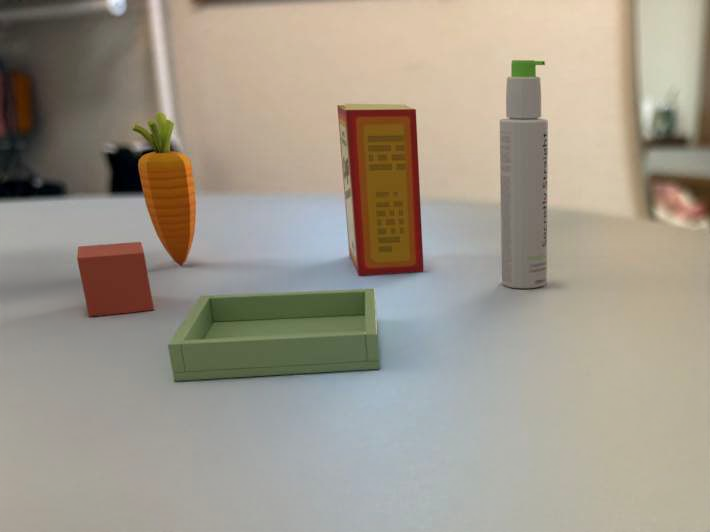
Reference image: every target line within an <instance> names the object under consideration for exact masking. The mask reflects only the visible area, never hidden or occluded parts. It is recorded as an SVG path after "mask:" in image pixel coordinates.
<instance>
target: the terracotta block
mask: <svg viewBox="0 0 710 532" xmlns="http://www.w3.org/2000/svg"><path fill="white" fill-rule="evenodd" d="M76 256H77V257H76V260H77V264H78V269H79V274H80V279H81V285H82V289H83V294H84V299H85V304H86V308H87V314H88V317H89V318H92V317H93V318H94V317H101V316H113V315H121V314H130V313H138V312H148V311H149V312H150V311H153V310H155V309H154V303H153V302H154V301H153V296H152V291H151V286H150V285H151V284H150V279H149V273H148V268H147V262H146V256H145V251H144V247H143V243H142V242H141V241H133V242H120V243H107V244H95V245H94V244H93V245H81V246H78V247H77V255H76Z"/></svg>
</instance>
